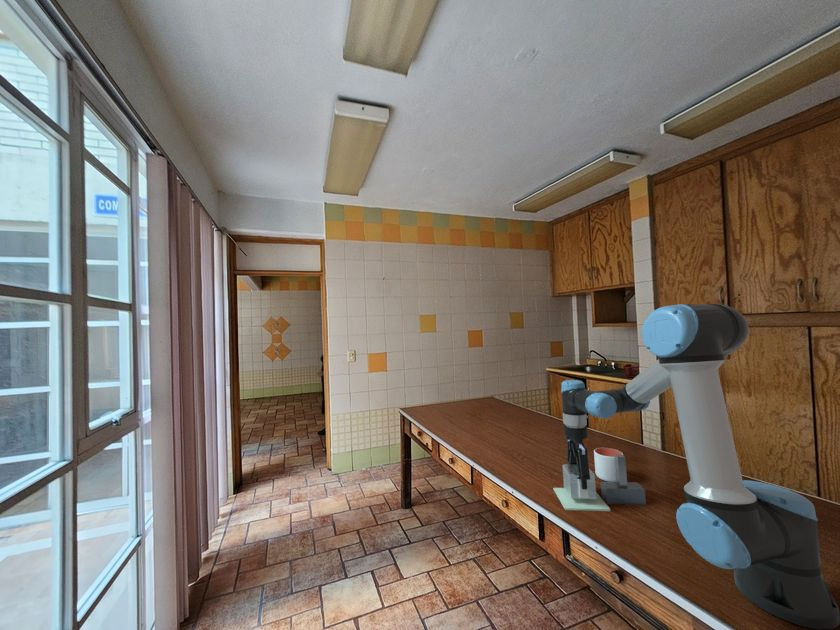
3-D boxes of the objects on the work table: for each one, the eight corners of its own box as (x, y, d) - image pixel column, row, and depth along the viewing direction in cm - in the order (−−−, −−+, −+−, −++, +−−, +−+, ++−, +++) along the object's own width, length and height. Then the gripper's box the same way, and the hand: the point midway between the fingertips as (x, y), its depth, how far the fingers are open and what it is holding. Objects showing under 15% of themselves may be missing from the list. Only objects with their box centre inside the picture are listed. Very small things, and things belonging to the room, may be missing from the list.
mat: (610, 511, 106) (610, 509, 106) (565, 510, 108) (565, 508, 108) (593, 490, 120) (593, 488, 120) (553, 489, 121) (553, 487, 121)
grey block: (645, 504, 109) (642, 458, 109) (607, 503, 110) (604, 458, 111) (637, 496, 114) (634, 453, 114) (601, 496, 115) (598, 453, 116)
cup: (629, 484, 122) (627, 457, 123) (600, 483, 124) (598, 456, 125) (618, 473, 132) (617, 448, 133) (592, 472, 134) (590, 447, 135)
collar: (596, 498, 109) (594, 474, 110) (571, 498, 110) (569, 474, 111) (587, 487, 117) (585, 464, 118) (563, 486, 118) (562, 464, 119)
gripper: (598, 434, 104) (603, 508, 103) (576, 416, 125) (579, 477, 124) (574, 434, 105) (578, 507, 104) (555, 417, 126) (559, 477, 125)
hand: (579, 491), depth 114 cm, fingers closed on collar, 8 cm apart
